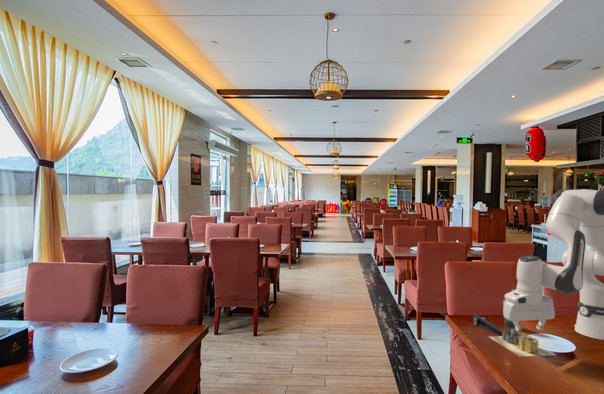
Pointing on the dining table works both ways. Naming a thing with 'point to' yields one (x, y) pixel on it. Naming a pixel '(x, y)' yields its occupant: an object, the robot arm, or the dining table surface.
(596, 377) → the dining table surface
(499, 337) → the gear board
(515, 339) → the gear
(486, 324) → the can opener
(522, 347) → the gear
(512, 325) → the beverage cup
